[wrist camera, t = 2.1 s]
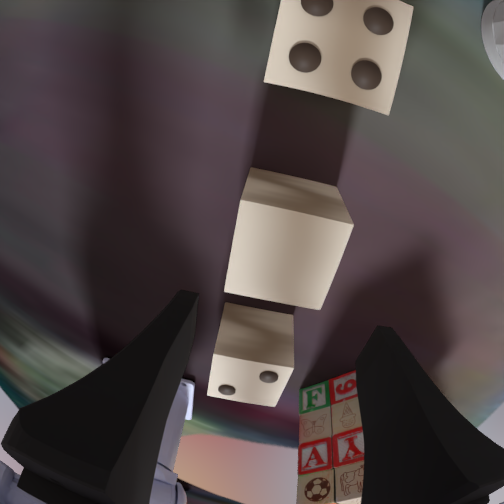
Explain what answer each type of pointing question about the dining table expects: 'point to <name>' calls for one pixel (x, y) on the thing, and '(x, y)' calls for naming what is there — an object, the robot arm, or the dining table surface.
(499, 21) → the cup
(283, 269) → the plain block
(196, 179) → the dining table surface
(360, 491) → the stack of blocks
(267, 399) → the dotted block
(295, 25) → the dotted block
